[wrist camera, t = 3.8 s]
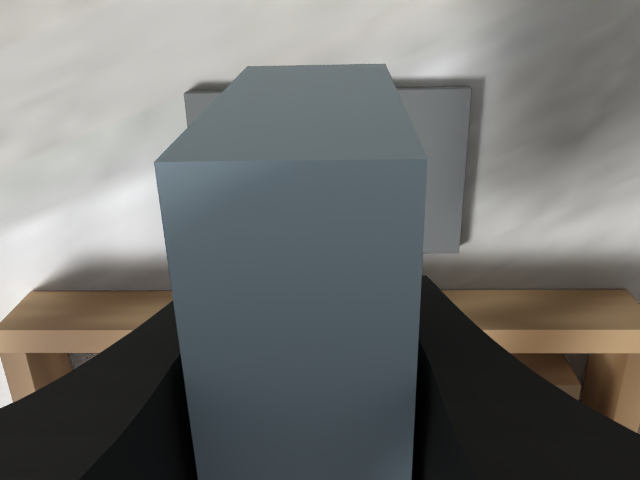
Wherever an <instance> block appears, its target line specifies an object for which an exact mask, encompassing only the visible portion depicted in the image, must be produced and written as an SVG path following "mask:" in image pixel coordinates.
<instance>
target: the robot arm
mask: <svg viewBox="0 0 640 480" xmlns="http://www.w3.org/2000/svg"><path fill="white" fill-rule="evenodd" d="M0 480H198V477H197V469H196V462H195V455H194V448H193V440H192V433H191V426H190V419H189V411H188V404H187V397H186V390H185V382H184V375H183V368H182V361H181V353H180V346H179V339H178V332H177V325H176V317H175V310H174V303H173V301H171V302H170V303H169V304H168V305H166V306H165V307H164V308H162V309H161V310H160V311H158V312H157V313H156V314H154V315H153V316H152V317H150V318H149V319H148V320H146V321H145V322H144V323H143V324H141V325H140V326H139V327H137V328H136V329H134V330H133V331H131V332H130V333H129V334H127V335H126V336H124V337H123V338H121V339H120V340H118V341H117V342H115V343H114V344H112V345H111V346H109V347H108V348H107V349H105V350H104V351H102V352H101V353H99V354H98V355H96V356H95V357H93V358H92V359H90V360H89V361H87V362H86V363H84V364H82V365H81V366H79V367H77V368H76V369H74V370H72V371H71V372H69V373H67V374H66V375H64V376H62V377H60V378H59V379H57V380H55V381H53V382H51V383H49V384H48V385H46V386H44V387H42V388H40V389H39V390H37V391H35V392H33V393H31V394H29V395H27V396H25V397H23V398H21V399H20V400H18V401H15V402H13V403H11V404H9V405H7V406H5V407H2V408H0ZM411 480H640V434H638V433H636V432H634V431H632V430H631V429H629V428H627V427H625V426H623V425H621V424H619V423H617V422H616V421H614V420H612V419H610V418H608V417H606V416H604V415H602V414H601V413H599V412H597V411H595V410H594V409H592V408H590V407H589V406H587V405H585V404H583V403H582V402H580V401H578V400H577V399H575V398H574V397H572V396H570V395H569V394H567V393H566V392H564V391H563V390H561V389H560V388H558V387H557V386H555V385H554V384H552V383H550V382H549V381H547V380H546V379H544V378H543V377H541V376H540V375H538V374H537V373H536V372H534V371H533V370H531V369H530V368H529V367H527V366H526V365H525V364H523V363H522V362H521V361H519V360H518V359H517V358H516V357H514V356H513V355H512V354H510V353H509V352H508V351H507V350H505V349H504V348H503V347H502V346H500V345H499V344H498V343H497V342H495V341H494V340H493V339H492V338H491V337H490V336H488V335H487V334H486V333H485V332H484V331H483V330H482V329H480V328H479V327H478V326H477V325H476V324H475V323H474V322H473V321H472V320H471V319H469V318H468V317H467V316H466V315H465V314H464V313H463V312H462V311H461V310H460V309H459V308H458V307H457V306H456V305H455V304H454V303H453V302H452V301H451V300H450V299H449V298H448V297H447V296H446V295H445V294H444V293H443V292H442V291H441V290H440V289H439V288H438V287H437V286H436V285H435V284H434V283H433V282H432V281H431V280H430V279H429V278H428V277H427V276H422V280H421V300H420V320H419V340H418V360H417V380H416V399H415V419H414V439H413V459H412V479H411Z"/></svg>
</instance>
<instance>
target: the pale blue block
mask: <svg viewBox="0 0 640 480" xmlns="http://www.w3.org/2000/svg"><path fill="white" fill-rule="evenodd" d="M427 161H428V159H427V156H426V154H425V152H424V150H423V147H422V145H421V143H420V141H419V138H418V136H417V134H416V132H415V129H414V127H413V125H412V123H411V120H410V118H409V116H408V114H407V111H406V109H405V107H404V105H403V102H402V100H401V98H400V96H399V93H398V91H397V89H396V87H395V84H394V82H393V80H392V78H391V75H390V73H389V71H388V69H387V67H386V64H349V65H296V66H247V67H246V68H245V69H244V70H243V71H242V72H241V73H240V74H239V75H238V76H237V77H236V79H235V80H234V81H233V82H232V83H231V84H230V85H229V86H228V87H227V88H226V89H225V90H224V91H223V92H222V93H221V94H220V95H219V96H218V97H217V98H216V99H215V100H214V101H213V102H212V103H211V104H210V105H209V106H208V107H207V108H206V109H205V110H204V111H203V112H202V113H201V114H200V116H199V117H198V118H197V119H196V120H195V121H194V122H193V123H192V124H191V125H190V126H189V127H188V128H187V129H186V130H185V131H184V132H183V133H182V134H181V135H180V136H179V137H178V138H177V139H176V140H175V141H174V142H173V143H172V144H171V145H170V146H169V147H168V148H167V149H166V150H165V151H164V153H163V154H162V155H161V156H160V157H159V158H158V159H157V160H156V161H155V162H154V165H155V173H156V180H157V187H158V194H159V202H160V209H161V216H162V223H163V230H164V238H165V245H166V252H167V259H168V267H169V274H170V281H171V288H172V296H173V303H174V310H175V317H176V325H177V332H178V339H179V346H180V353H181V361H182V368H183V375H184V382H185V390H186V397H187V404H188V411H189V419H190V426H191V433H192V440H193V448H194V455H195V462H196V469H197V477H198V480H411V479H412V459H413V439H414V419H415V399H416V380H417V360H418V340H419V320H420V300H421V280H422V260H423V241H424V221H425V201H426V181H427Z"/></svg>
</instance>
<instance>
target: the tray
mask: <svg viewBox="0 0 640 480" xmlns="http://www.w3.org/2000/svg"><path fill="white" fill-rule="evenodd" d="M441 291H442V292H443V293H444V294H445V295H446V296H447V297H448V298H449V299H450V300H451V301H452V302H453V303H454V304H455V305H456V306H457V307H458V308H459V309H460V310H461V311H462V312H463V313H464V314H465V315H466V316H467V317H468V318H469V319H471V320H472V321H473V322H474V323H475V324H476V325H477V326H478V327H479V328H480V329H482V330H483V331H484V332H485V333H486V334H487V335H488V336H490V337H491V338H492V339H493V340H494V341H495V342H497V343H498V344H499V345H500V346H502V347H503V348H504V349H505V350H507V351H508V352H509V353H589V357H588V363H587V368H586V374H585V379H584V384H583V390H582V395H581V400H580V402H582V403H583V404H585V405H587V406H589V407H590V408H592V409H594V410H595V411H597V412H599V413H601V414H602V415H604V416H606V417H608V418H610V419H612V420H614V421H616V422H617V423H619V424H621V425H623V426H625V427H627V428H629V429H631V430H632V431H634V432H636V433H638V429H639V425H640V304H639V303H638V302H637V301H636V299H635V298H634V297H633V296H632V295H631V294H630V293H629V292H628V290H627V289H575V290H441ZM171 301H173V296H172V291H31V292H30V293H29V294H28V295H27V296H26V297H25V298H24V299H23V300H22V301H21V302H20V303H19V304H18V305H17V306H16V307H15V308H14V309H13V310H12V311H11V312H10V313H9V314H8V315H7V316H6V317H5V318H4V319H3V320H2V322H1V323H0V357H1V361H2V364H3V368H4V371H5V375H6V378H7V382H8V385H9V389H10V393H11V396H12V400H13V402H15V401H18V400H20V399H21V398H23V397H25V396H27V395H29V394H31V393H33V392H35V391H37V390H39V389H40V388H42V387H44V386H46V385H48V384H49V383H51V382H53V381H55V380H57V379H59V378H60V377H62V376H64V375H66V374H67V373H69V372H71V371H72V368H71V363H70V359H69V354H68V353H101V352H102V351H104V350H105V349H107V348H108V347H109V346H111V345H112V344H114V343H115V342H117V341H118V340H120V339H121V338H123V337H124V336H126V335H127V334H129V333H130V332H131V331H133V330H134V329H136V328H137V327H139V326H140V325H141V324H143V323H144V322H145V321H146V320H148V319H149V318H150V317H152V316H153V315H154V314H156V313H157V312H158V311H160V310H161V309H162V308H164V307H165V306H166V305H168V304H169V303H170V302H171Z"/></svg>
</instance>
